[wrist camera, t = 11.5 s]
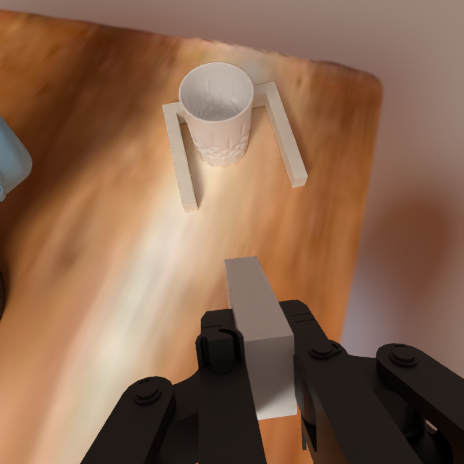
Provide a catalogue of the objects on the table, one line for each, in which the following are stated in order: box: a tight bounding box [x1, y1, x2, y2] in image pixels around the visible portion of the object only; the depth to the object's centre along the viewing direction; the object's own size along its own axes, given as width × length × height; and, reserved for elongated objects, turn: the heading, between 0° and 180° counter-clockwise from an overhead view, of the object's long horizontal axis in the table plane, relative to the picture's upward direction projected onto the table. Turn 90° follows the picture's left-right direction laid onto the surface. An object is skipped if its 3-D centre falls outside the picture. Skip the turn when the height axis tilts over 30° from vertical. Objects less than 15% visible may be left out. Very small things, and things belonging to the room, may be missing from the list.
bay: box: [162, 81, 308, 213], centre depth 43 cm, size 15×15×2 cm
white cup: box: [179, 62, 254, 167], centre depth 40 cm, size 8×8×10 cm
